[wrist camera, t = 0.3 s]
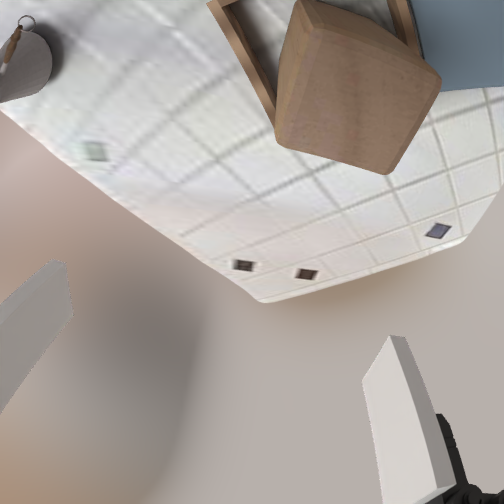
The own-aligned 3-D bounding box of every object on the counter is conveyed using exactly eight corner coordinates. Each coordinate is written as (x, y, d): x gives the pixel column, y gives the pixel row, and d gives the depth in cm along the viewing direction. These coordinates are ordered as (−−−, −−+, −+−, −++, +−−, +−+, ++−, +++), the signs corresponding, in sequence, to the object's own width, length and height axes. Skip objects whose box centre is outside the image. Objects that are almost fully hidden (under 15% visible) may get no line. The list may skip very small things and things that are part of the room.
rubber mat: (403, -17, 20) (405, -17, 20) (504, -14, 14) (506, -14, 14) (428, 91, 32) (430, 93, 31) (514, 84, 26) (516, 85, 25)
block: (377, 21, 26) (451, 81, 14) (351, 85, 34) (391, 183, 22) (296, -5, 25) (309, 21, 13) (277, 63, 33) (270, 150, 21)
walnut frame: (213, -1, 26) (206, 3, 24) (378, -46, 18) (389, -46, 16) (280, 125, 40) (279, 140, 38) (417, 94, 33) (427, 107, 30)
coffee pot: (35, 98, 36) (-19, 154, 27) (2, 56, 28) (-60, 105, 19) (119, 21, 28) (50, 61, 19) (78, -32, 19) (-2, -8, 11)
